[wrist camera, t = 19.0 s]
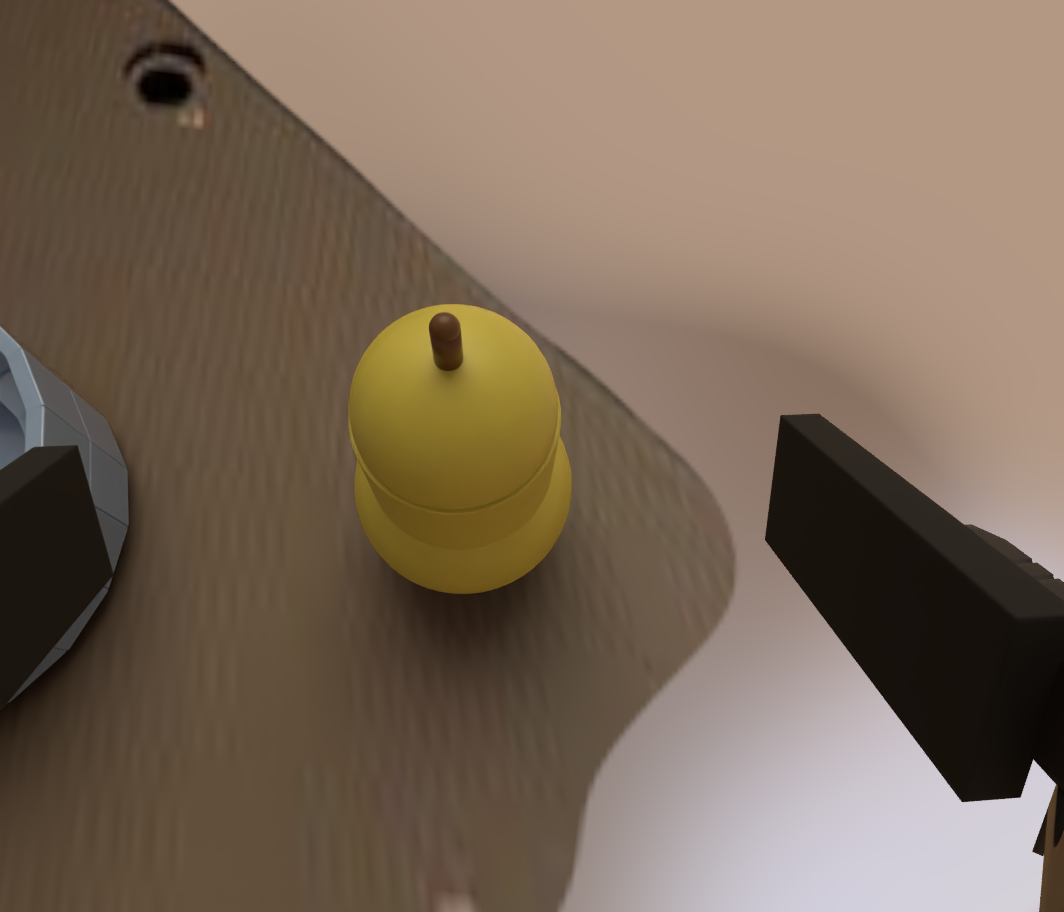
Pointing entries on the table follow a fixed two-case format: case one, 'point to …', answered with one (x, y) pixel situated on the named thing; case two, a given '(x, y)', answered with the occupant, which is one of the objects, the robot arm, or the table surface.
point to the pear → (458, 449)
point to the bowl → (58, 420)
